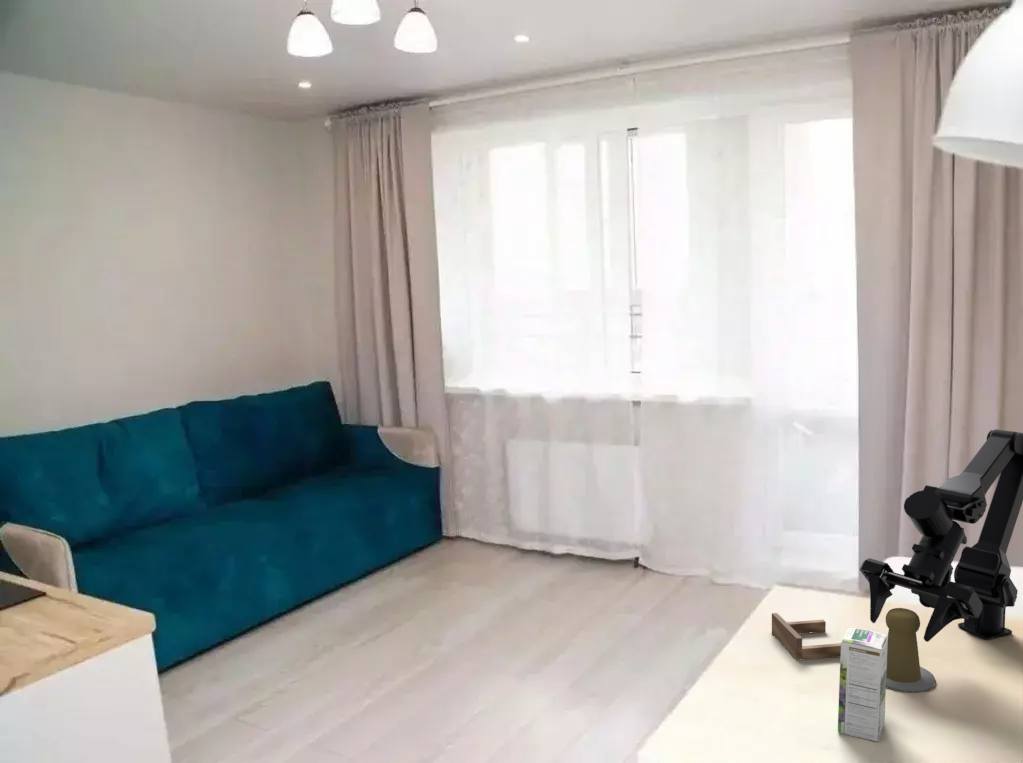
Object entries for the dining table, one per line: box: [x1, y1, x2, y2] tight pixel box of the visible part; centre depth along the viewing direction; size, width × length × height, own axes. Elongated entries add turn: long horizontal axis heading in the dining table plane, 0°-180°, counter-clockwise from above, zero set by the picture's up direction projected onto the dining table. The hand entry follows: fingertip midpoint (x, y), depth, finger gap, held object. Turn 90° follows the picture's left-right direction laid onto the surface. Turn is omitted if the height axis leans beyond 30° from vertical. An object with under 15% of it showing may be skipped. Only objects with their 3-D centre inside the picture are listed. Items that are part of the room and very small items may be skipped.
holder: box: [771, 612, 841, 661], centre depth 156 cm, size 10×11×4 cm
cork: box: [885, 607, 921, 683], centre depth 143 cm, size 6×6×11 cm
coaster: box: [886, 666, 936, 693], centre depth 143 cm, size 10×10×1 cm
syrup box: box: [837, 627, 888, 742], centre depth 127 cm, size 6×6×14 cm
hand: (898, 630), depth 141 cm, fingers open, 9 cm apart
